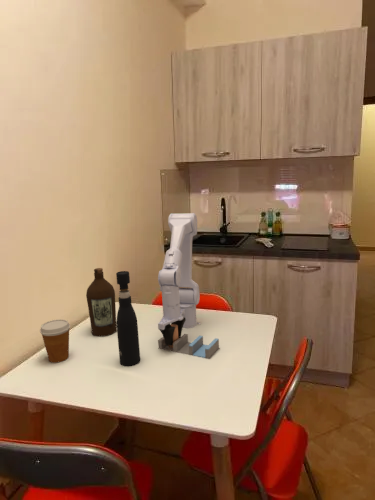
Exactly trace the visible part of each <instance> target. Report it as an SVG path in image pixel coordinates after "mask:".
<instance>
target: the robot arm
mask: <svg viewBox="0 0 375 500" xmlns="http://www.w3.org/2000/svg"><path fill="white" fill-rule="evenodd" d="M167 223H168V225H167V226H168V227H169V231H170V233H171V235H170V237H171V238H170V247H169V249H168V250H166V252H165V255H164V261H163V265H162V268H161V269H160V270H159V271H158V275H157V282H158V286H159V291H160V292H161V297H162V298H161V300H162V314H163V316H162V317H161V319H160V321H159V322H158V323H157V329H158V330H159V331H160V333H161V335H162V337H164V339H165V342H166V345H170V346H172V345H173V334H174V330H175V327H172V326H171V325H170V324H176V325H178V338H180V337H181V336H182V332H183V329H190V328H192V329H193V328H194V327H196V326H197V325H201V322H198V321H197V305H198V304H199V303H200V297H201V296H200V293H201V292H200V286H199V284H198V283H197V282H196V281H194V280H193V239H194V238H193V237H195V236H197V235H198V216H197V214H196V213H195V212H192V213H191V212H189V213H188V212H187V213H174V212H173V213H170V214H169V215H168V218H167Z"/></svg>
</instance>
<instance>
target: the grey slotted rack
mask: <svg viewBox="0 0 375 500" xmlns="http://www.w3.org/2000/svg"><path fill="white" fill-rule="evenodd" d="M157 342H158V347H157V349H158V350H163V351H168V352H173V353H179V354H183V355H188V356H192V357H198V358H202V359H208V360H211V358H212V357H213V356H215V355H216V353H217V352H218V351H219V350H220V340H219V338H216V337H215V338H214V339H213V340H212V341H211V342H210V343H209V344H204V335H198V336H197V337H196V338H195V339H194V340H193V341H192V342H189V334H187V333H183V334H181V337H180V338H179V339H178V340H176V341H175V342H174V343H173V348H170V347H169V346H168V345H166V342H165V339H164V337H163V336H162V337H160V338H159V339H158V340H157Z"/></svg>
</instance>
